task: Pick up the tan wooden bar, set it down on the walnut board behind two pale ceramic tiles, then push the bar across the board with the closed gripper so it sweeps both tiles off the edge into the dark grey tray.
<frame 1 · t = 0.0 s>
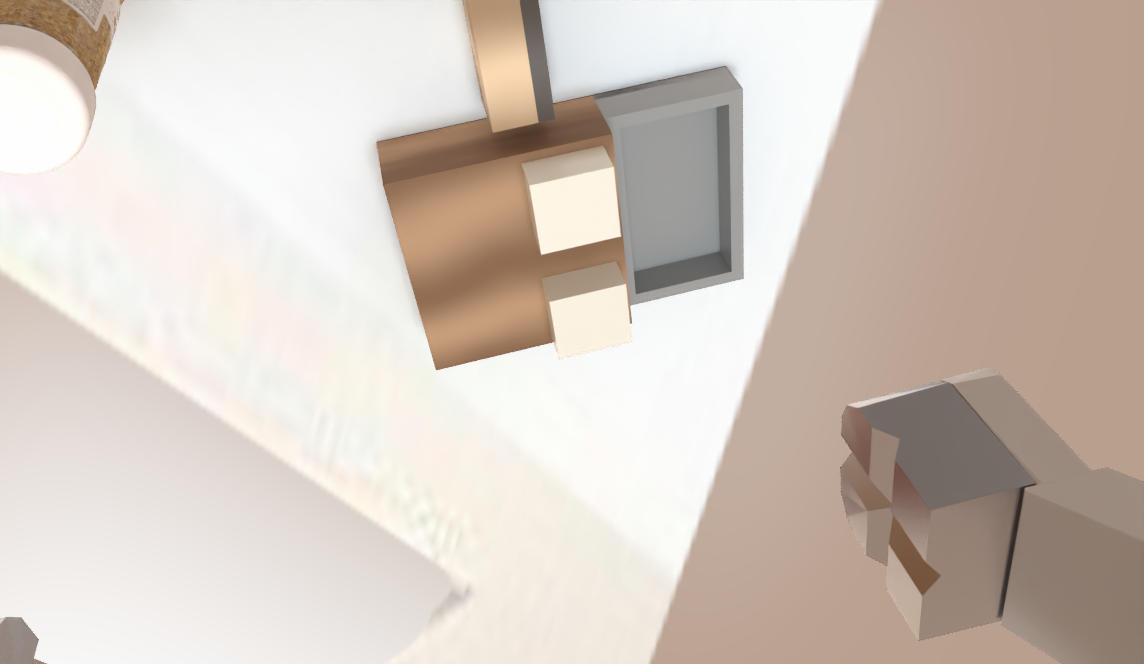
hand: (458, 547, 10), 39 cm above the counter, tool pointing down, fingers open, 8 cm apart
board: (504, 217, 54), on the counter
tile a: (567, 189, 49), point 4 cm above the counter, touching board
tray: (665, 180, 55), on the counter
tile b: (583, 299, 54), point 4 cm above the counter, touching board
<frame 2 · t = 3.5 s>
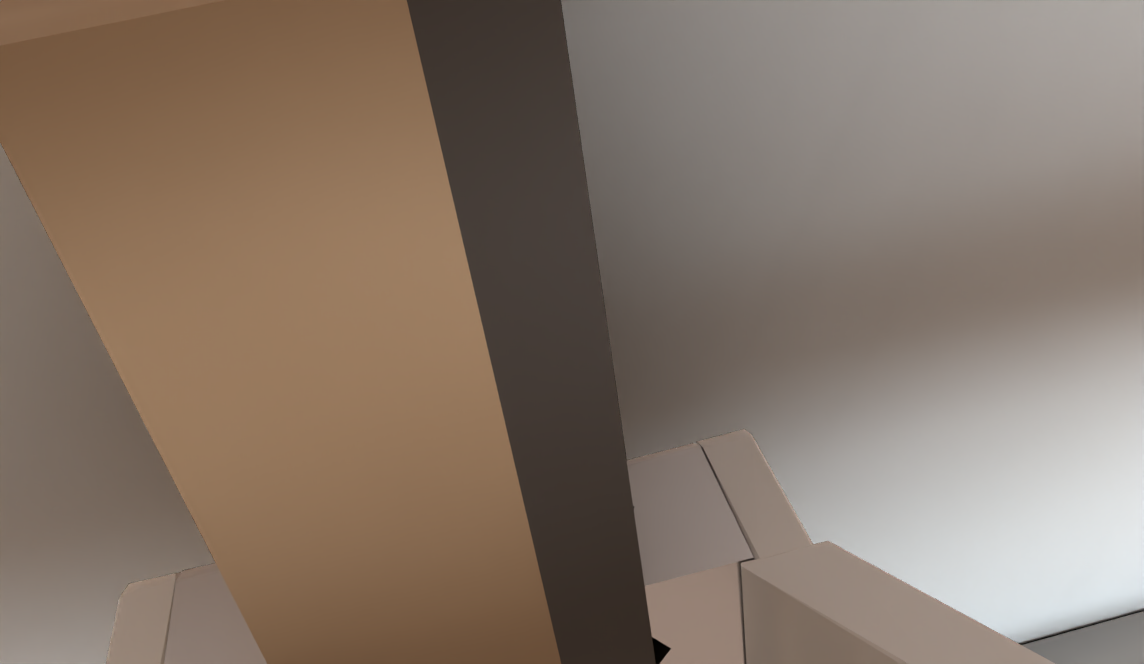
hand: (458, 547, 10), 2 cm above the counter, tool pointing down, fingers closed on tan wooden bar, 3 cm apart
tan wooden bar: (441, 434, 11), on the counter, touching gripper
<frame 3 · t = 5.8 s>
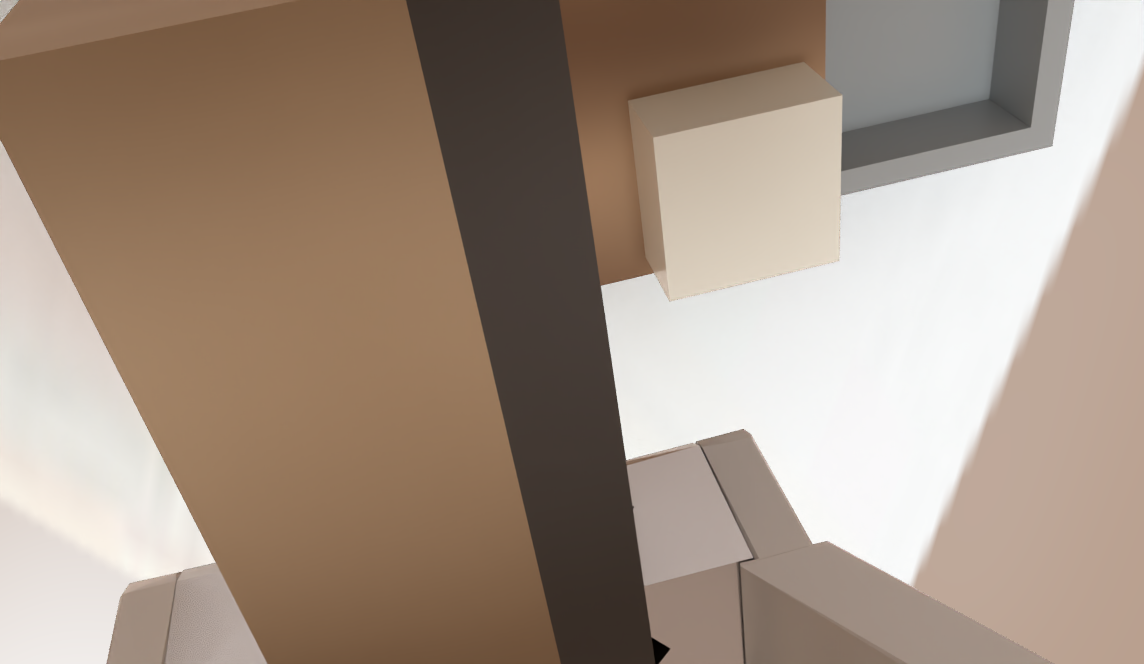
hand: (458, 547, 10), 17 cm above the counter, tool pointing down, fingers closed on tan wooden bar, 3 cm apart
tan wooden bar: (442, 440, 11), point 15 cm above the counter, touching gripper
tile b: (721, 163, 23), point 4 cm above the counter, touching board
when the fingers open (6 cm above the counter, at t = 7.6 s): tan wooden bar stays where it is, resting on board.
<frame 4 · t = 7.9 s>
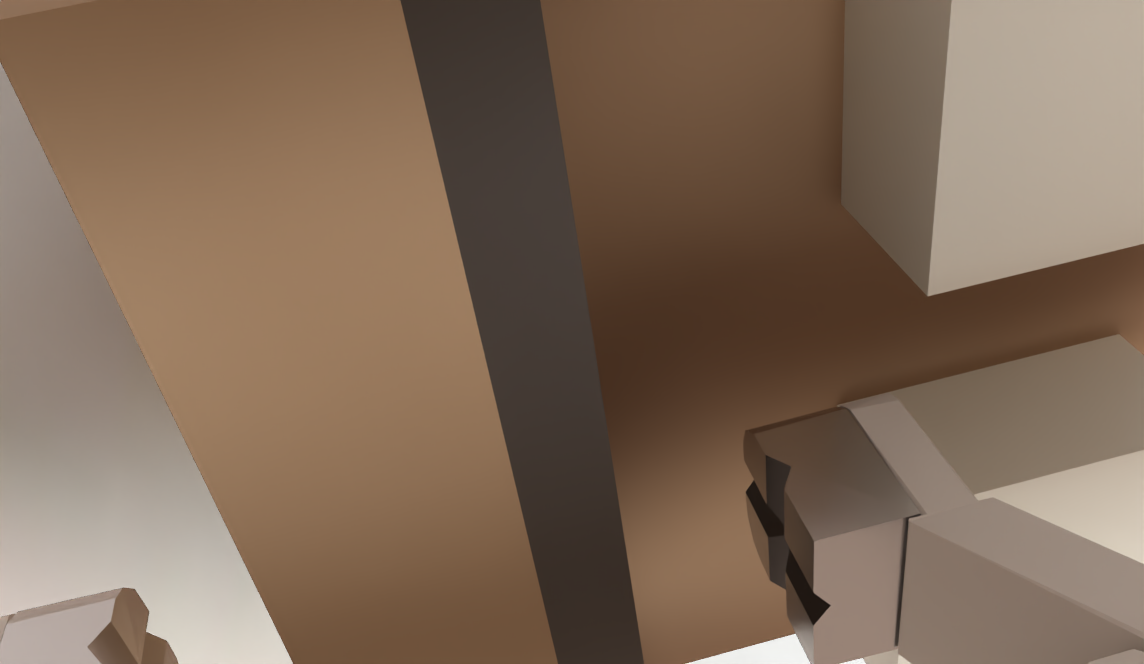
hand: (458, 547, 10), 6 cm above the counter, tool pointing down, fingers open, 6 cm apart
board: (667, 186, 16), on the counter
tan wooden bar: (434, 406, 12), point 4 cm above the counter, touching board
tile b: (966, 477, 15), point 4 cm above the counter, touching board
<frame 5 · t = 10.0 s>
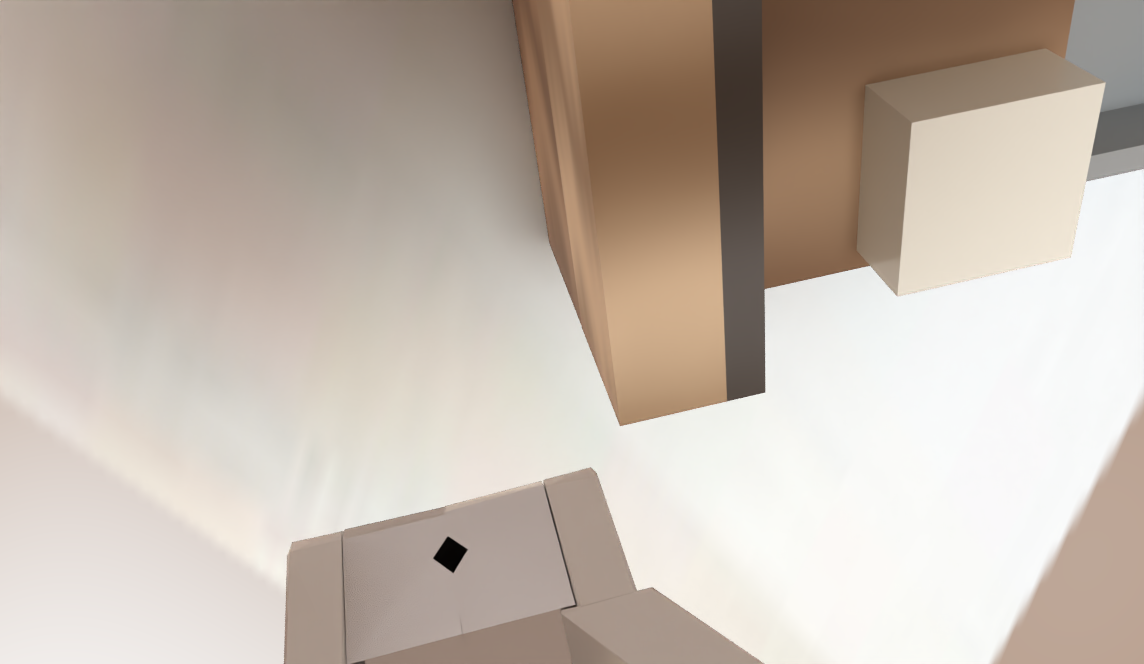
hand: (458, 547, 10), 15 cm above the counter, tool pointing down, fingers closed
tan wooden bar: (622, 58, 19), point 4 cm above the counter, touching board
tile b: (946, 153, 22), point 4 cm above the counter, touching board
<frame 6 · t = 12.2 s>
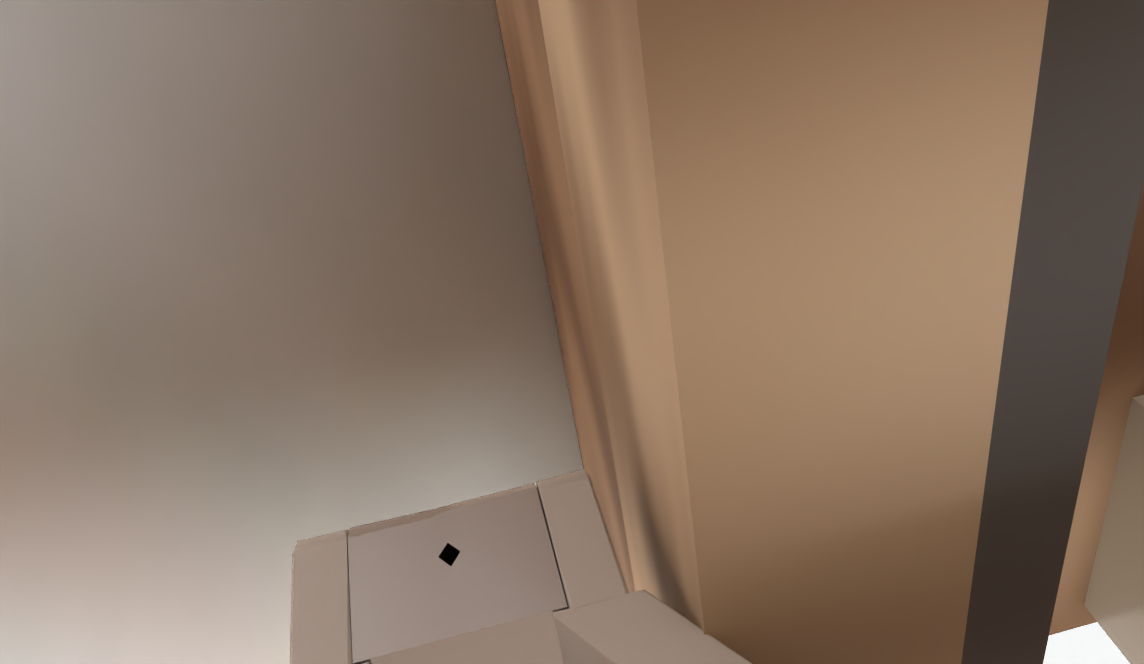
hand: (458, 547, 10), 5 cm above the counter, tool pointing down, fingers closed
board: (909, 170, 15), on the counter
tan wooden bar: (740, 401, 11), point 4 cm above the counter, touching board, gripper
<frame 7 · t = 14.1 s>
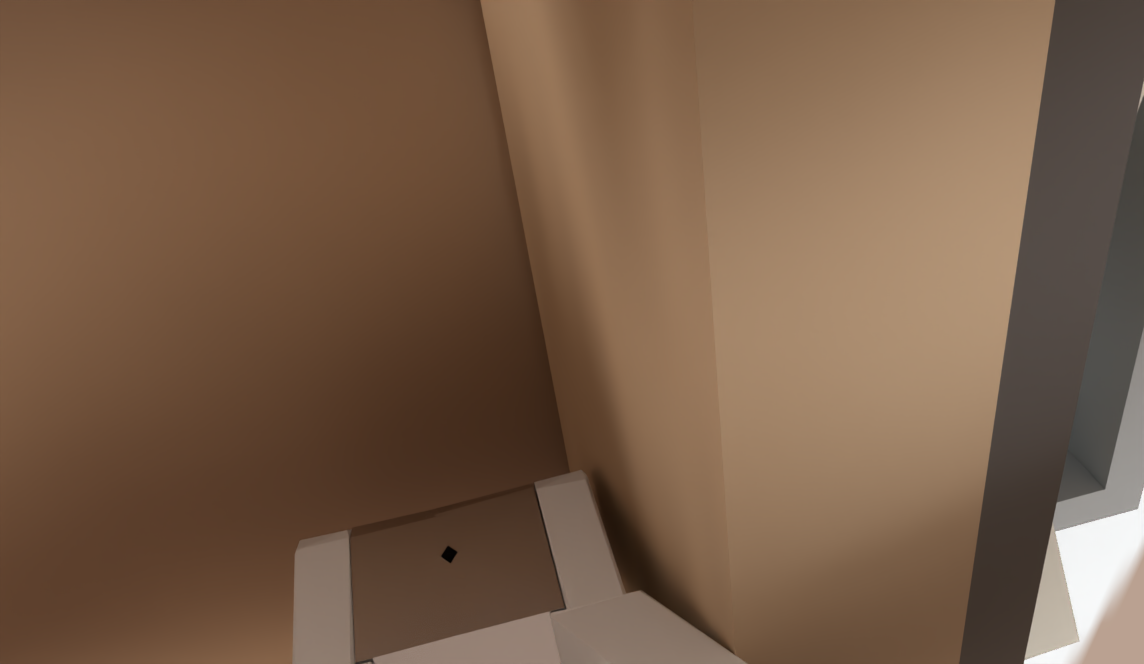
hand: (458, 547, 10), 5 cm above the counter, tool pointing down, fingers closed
board: (266, 307, 14), on the counter
tan wooden bar: (693, 419, 11), point 4 cm above the counter, tilted 11°, touching board, gripper, tile b
tray: (880, 163, 15), on the counter
tile b: (815, 493, 13), point 3 cm above the counter, tilted 93°, touching tan wooden bar, tray
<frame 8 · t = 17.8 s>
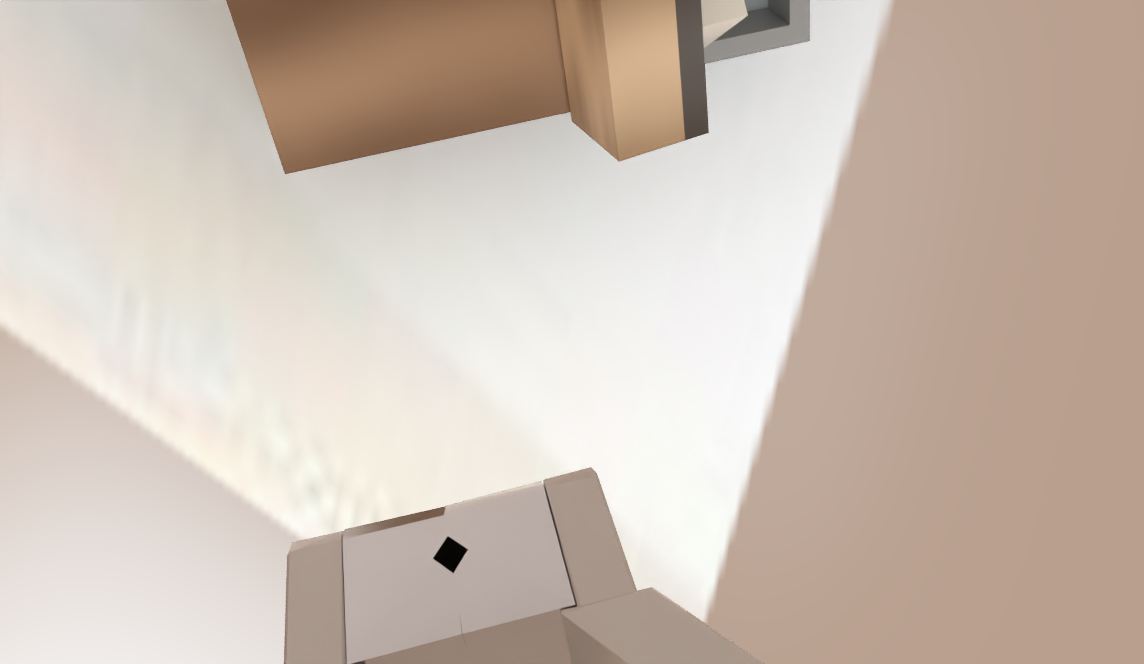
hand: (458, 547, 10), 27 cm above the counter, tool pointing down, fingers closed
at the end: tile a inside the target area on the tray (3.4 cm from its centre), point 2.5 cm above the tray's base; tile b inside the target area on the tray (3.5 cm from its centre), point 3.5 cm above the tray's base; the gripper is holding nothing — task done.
